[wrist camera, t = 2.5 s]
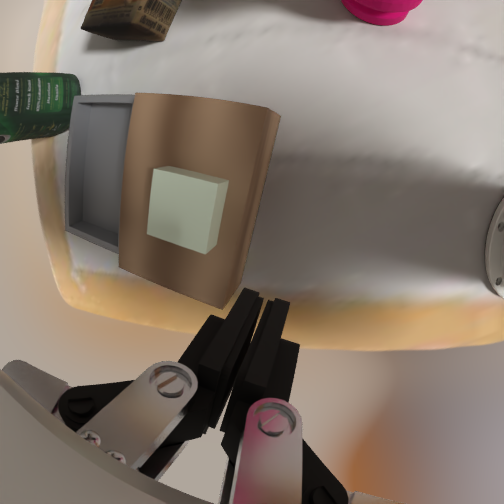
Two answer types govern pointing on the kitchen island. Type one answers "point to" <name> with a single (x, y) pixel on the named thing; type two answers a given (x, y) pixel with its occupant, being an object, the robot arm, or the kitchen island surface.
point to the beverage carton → (131, 19)
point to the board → (202, 161)
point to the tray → (96, 167)
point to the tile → (186, 207)
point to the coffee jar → (35, 104)
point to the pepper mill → (381, 10)
